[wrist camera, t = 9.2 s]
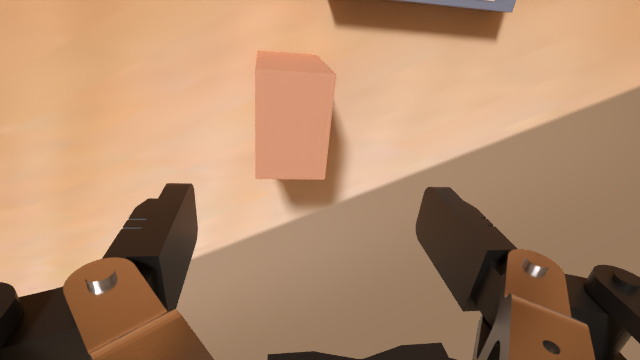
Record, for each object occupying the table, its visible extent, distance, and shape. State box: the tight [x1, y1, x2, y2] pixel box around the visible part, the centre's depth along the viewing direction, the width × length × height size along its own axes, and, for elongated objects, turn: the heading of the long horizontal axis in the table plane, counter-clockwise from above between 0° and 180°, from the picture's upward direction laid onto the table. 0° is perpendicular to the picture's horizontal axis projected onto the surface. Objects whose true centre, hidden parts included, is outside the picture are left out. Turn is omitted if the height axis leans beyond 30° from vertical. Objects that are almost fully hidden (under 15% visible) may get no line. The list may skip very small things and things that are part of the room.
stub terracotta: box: [255, 51, 336, 180], centre depth 21 cm, size 4×6×7 cm, turn 175°
